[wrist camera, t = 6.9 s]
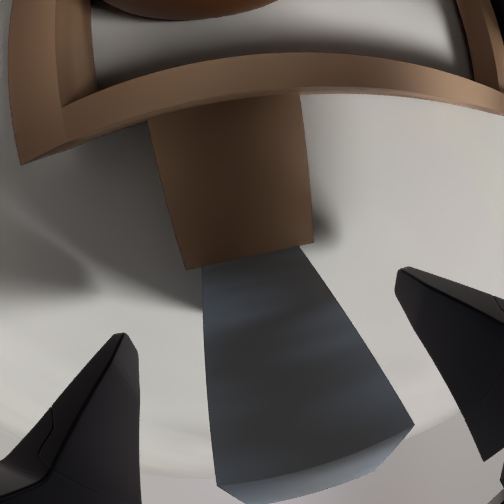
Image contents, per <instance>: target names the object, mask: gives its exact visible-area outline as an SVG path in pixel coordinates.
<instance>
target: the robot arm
mask: <svg viewBox="0 0 504 504" xmlns="http://www.w3.org/2000/svg"><path fill="white" fill-rule="evenodd" d="M490 2H491V5H492V7H493V10H494V13H495V16H496V19H497V23H498V26H499V29H500V33H501V37H502V41H503V45H504V0H490ZM395 295H396V297H397V299H398V301H399V302H400V304H401V306H402V308H403V310H404V312H405V314H406V316H407V318H408V320H409V322H410V323H411V325H412V327H413V329H414V331H415V332H416V334H417V336H418V337H419V339H420V340H421V342H422V344H423V345H424V347H425V348H426V350H427V352H428V353H429V355H430V357H431V358H432V360H433V362H434V363H435V365H436V367H437V368H438V370H439V372H440V374H441V375H442V377H443V379H444V381H445V383H446V384H447V386H448V388H449V390H450V392H451V394H452V396H453V397H454V399H455V401H456V403H457V405H458V407H459V409H460V411H461V413H462V415H463V417H464V418H465V422H466V423H467V426H468V428H469V430H470V432H471V434H472V437H473V439H474V441H475V443H476V446H477V448H478V451H479V453H480V455H481V458H482V460H483V461H484V462H485V461H486V460H488V459H489V458H490V457H492V456H493V455H494V454H496V453H497V452H499V451H500V450H501V449H503V448H504V299H501V298H499V297H496V296H492V295H490V294H488V293H485V292H482V291H479V290H477V289H474V288H471V287H468V286H465V285H462V284H460V283H457V282H454V281H451V280H448V279H445V278H442V277H439V276H436V275H433V274H430V273H427V272H424V271H421V270H418V269H415V268H412V267H404V268H401V269H399V270H398V272H397V277H396V283H395ZM139 415H140V385H139V359H138V352H137V350H136V348H135V346H134V345H133V343H132V341H131V340H130V338H129V336H128V335H127V334H126V333H117V334H114V335H113V336H112V337H111V338H110V339H109V340H108V341H107V342H106V343H105V344H104V345H103V347H102V348H101V349H100V350H99V351H98V352H97V353H96V354H95V356H94V357H93V358H92V359H91V360H90V361H89V362H88V363H87V365H86V366H85V367H84V368H83V369H82V370H81V371H80V373H79V374H78V375H77V376H76V377H75V378H74V380H73V381H72V382H71V383H70V384H69V385H68V387H67V388H66V389H65V390H64V391H63V393H62V394H61V395H60V396H59V397H58V399H57V400H56V401H55V402H54V403H53V405H52V407H50V408H49V409H48V411H47V412H46V413H45V414H44V416H43V417H42V418H41V419H40V420H39V422H38V423H37V424H36V425H35V426H34V427H33V428H32V430H31V431H30V432H29V433H28V434H27V435H26V436H25V437H24V438H23V439H22V440H21V441H20V443H19V444H18V445H17V446H16V447H15V448H14V449H13V450H12V452H10V453H9V454H8V455H7V456H6V457H5V458H4V459H3V460H1V461H0V504H142V501H141V489H140V467H139ZM500 481H501V483H502V485H503V487H504V464H503V469H502V473H501V478H500ZM488 504H504V489H503V490H502V491H501V492H500V493H499V494H498V495H496V497H494V498H493V499H492V500H491V501H490V502H489V503H488Z"/></svg>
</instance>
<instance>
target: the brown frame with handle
mask: <svg viewBox="0 0 504 504" xmlns="http://www.w3.org/2000/svg"><path fill="white" fill-rule="evenodd" d="M456 2H457V5H458V8H459V11H460V14H461V18H462V21H463V25H464V28H465V32H466V36H467V40H468V45H469V49H470V54H471V60H472V65H473V71H474V78H475V82H474V81H472V80H469V79H466V78H463V77H460V76H457V75H454V74H451V73H447V72H444V71H440V70H437V69H433V68H429V67H425V66H421V65H416V64H412V63H407V62H402V61H397V60H391V59H385V58H378V57H371V56H362V55H352V54H340V53H319V52H288V53H267V54H254V55H244V56H235V57H228V58H221V59H214V60H208V61H203V62H197V63H192V64H188V65H183V66H179V67H174V68H170V69H166V70H162V71H158V72H155V73H151V74H148V75H144V76H141V77H138V78H135V79H132V80H129V81H126V82H123V83H120V84H117V85H114V86H111V87H109V88H106V89H104V90H101V91H98V89H97V82H96V75H95V66H94V57H93V47H92V33H91V5H90V0H13V3H12V10H11V18H10V27H9V41H8V83H9V97H10V107H11V116H12V123H13V130H14V136H15V141H16V146H17V151H18V156H19V160H20V165H24V164H26V163H29V162H32V161H35V160H38V159H41V158H44V157H47V156H50V155H53V154H56V153H59V152H63V151H66V150H68V149H70V148H73V147H75V146H78V145H80V144H82V143H85V142H87V141H90V140H92V139H95V138H98V137H100V136H103V135H106V134H108V133H111V132H114V131H117V130H120V129H123V128H126V127H129V126H132V125H135V124H139V123H142V122H145V121H148V126H149V131H150V136H151V140H152V145H153V150H154V154H155V159H156V163H157V167H158V171H159V176H160V180H161V184H162V188H163V192H164V196H165V199H166V203H167V207H168V211H169V214H170V218H171V222H172V225H173V229H174V232H175V236H176V239H177V243H178V246H179V249H180V253H181V256H182V259H183V263H184V266H185V269H186V270H188V269H193V268H198V267H202V304H203V332H204V353H205V370H206V385H207V398H208V410H209V422H210V432H211V442H212V451H213V459H214V467H215V475H216V483H217V486H218V487H220V488H221V489H223V490H224V491H226V492H227V493H229V494H230V495H232V496H234V497H235V498H237V499H238V500H240V501H242V502H244V503H245V504H269V503H274V502H279V501H284V500H288V499H293V498H297V497H301V496H304V495H308V494H311V493H315V492H319V491H322V490H325V489H328V488H331V487H334V486H337V485H340V484H343V483H346V482H348V481H351V480H354V479H356V478H359V477H361V476H363V475H366V474H368V473H371V472H373V471H374V470H375V469H376V468H377V467H378V466H379V465H380V464H381V463H382V462H383V461H384V460H385V459H386V458H387V457H388V456H389V455H390V454H391V453H392V451H393V450H394V449H395V448H396V447H397V446H398V445H399V443H400V442H401V441H402V440H403V439H404V438H405V436H406V435H407V434H408V433H409V432H410V430H411V429H412V428H413V426H414V425H415V424H414V423H413V421H412V419H411V417H410V416H409V414H408V412H407V410H406V409H405V407H404V405H403V404H402V402H401V400H400V399H399V397H398V395H397V394H396V392H395V390H394V389H393V387H392V385H391V384H390V382H389V380H388V379H387V377H386V376H385V374H384V372H383V371H382V369H381V367H380V366H379V364H378V363H377V361H376V360H375V358H374V356H373V355H372V353H371V352H370V350H369V349H368V347H367V345H366V344H365V342H364V341H363V339H362V338H361V336H360V335H359V333H358V331H357V330H356V328H355V327H354V325H353V324H352V322H351V321H350V319H349V318H348V316H347V315H346V313H345V312H344V310H343V309H342V307H341V306H340V304H339V303H338V301H337V300H336V298H335V297H334V296H333V294H332V293H331V291H330V290H329V288H328V287H327V285H326V284H325V282H324V281H323V280H322V278H321V277H320V275H319V274H318V272H317V271H316V269H315V268H314V267H313V265H312V264H311V262H310V261H309V260H308V258H307V257H306V255H305V254H304V253H303V251H302V250H301V248H300V247H299V246H300V245H305V244H309V243H314V236H313V220H312V205H311V192H310V181H309V170H308V160H307V150H306V141H305V133H304V125H303V117H302V110H301V103H300V96H299V95H304V94H374V95H389V96H400V97H409V98H418V99H425V100H432V101H438V102H444V103H449V104H454V105H459V106H464V107H468V108H473V109H477V110H481V111H485V112H488V113H492V114H497V115H502V116H504V45H503V41H502V37H501V33H500V29H499V26H498V23H497V19H496V16H495V13H494V10H493V7H492V5H491V2H490V0H456Z"/></svg>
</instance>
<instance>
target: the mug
mask: <svg viewBox="0 0 504 504" xmlns="http://www.w3.org/2000/svg"><path fill="white" fill-rule="evenodd" d="M104 1H105V2H107V3H108V4H110V5H112V6H114V7H117V8H119V9H121V10H123V11H126V12H129V13H132V14H135V15H139V16H145V17H150V18H158V19H169V20H191V19H206V18H217V17H222V16H228V15H234V14H238V13H242V12H247V11H250V10H253V9H257V8H260V7H263V6H265V5H268V4H270V3H273V2H275V1H277V0H104Z"/></svg>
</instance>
